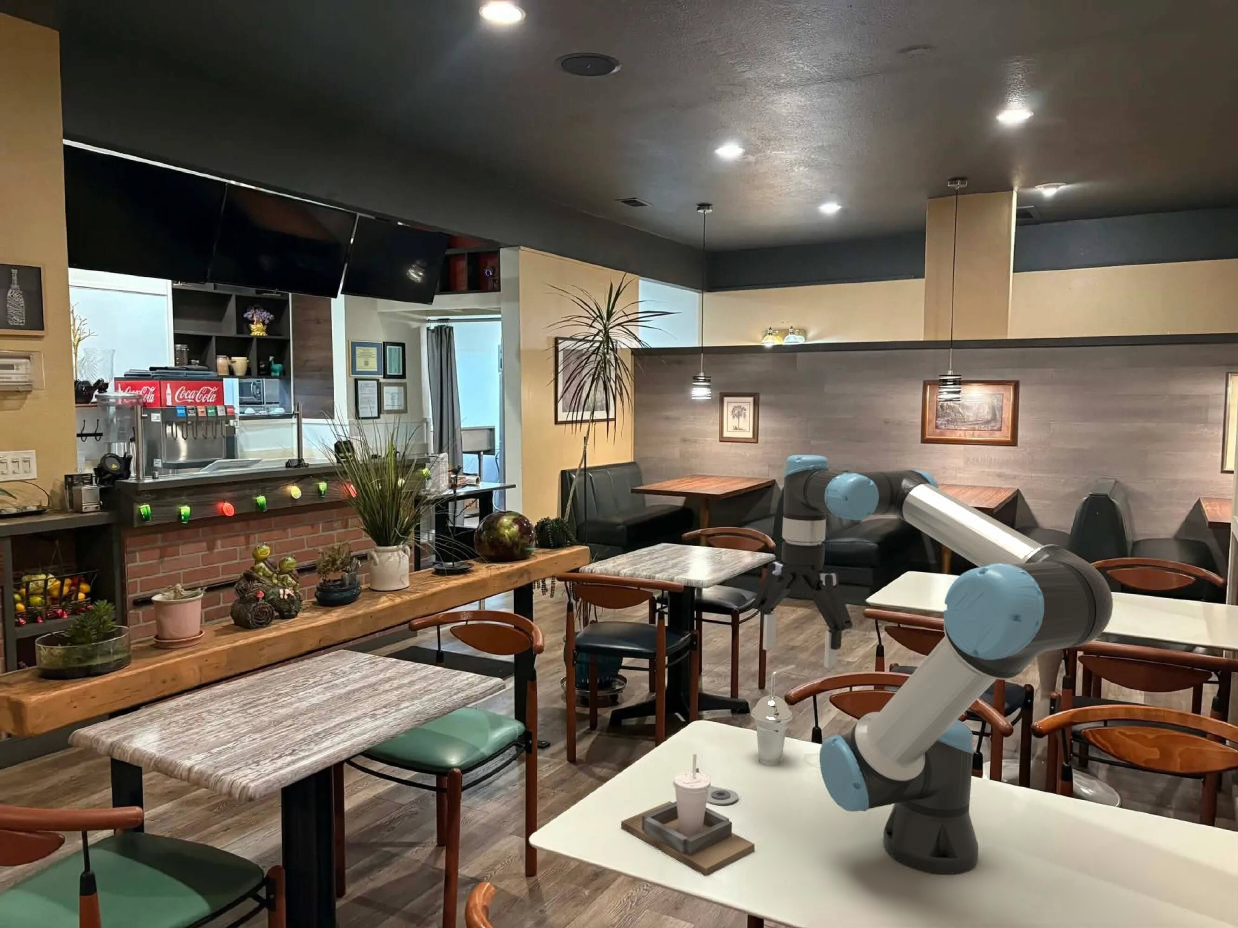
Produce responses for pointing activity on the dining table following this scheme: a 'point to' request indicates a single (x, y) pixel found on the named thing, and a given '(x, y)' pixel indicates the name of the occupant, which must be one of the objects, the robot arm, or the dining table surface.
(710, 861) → the keeper board
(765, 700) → the domed lid cup
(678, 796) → the smoothie
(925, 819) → the robot arm
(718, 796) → the grey arched plates
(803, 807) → the dining table surface
